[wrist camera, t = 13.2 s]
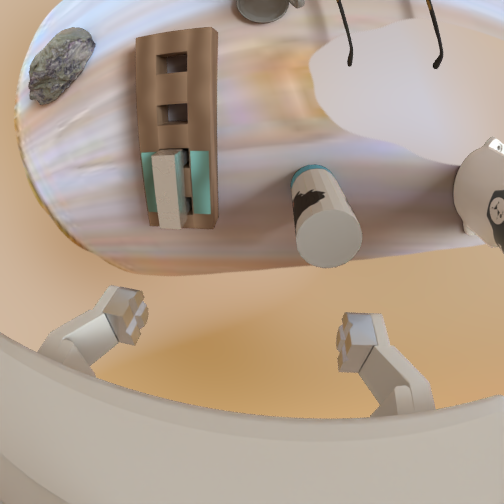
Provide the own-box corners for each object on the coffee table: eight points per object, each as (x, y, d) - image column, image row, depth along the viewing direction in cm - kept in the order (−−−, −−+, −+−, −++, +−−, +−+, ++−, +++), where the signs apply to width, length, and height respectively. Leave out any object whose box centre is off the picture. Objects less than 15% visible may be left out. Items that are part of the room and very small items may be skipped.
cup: (281, 189, 40) (281, 245, 27) (310, 155, 37) (328, 195, 24) (315, 215, 42) (330, 278, 29) (345, 184, 38) (375, 236, 26)
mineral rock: (49, 105, 33) (9, 118, 25) (41, 55, 27) (0, 60, 19) (102, 77, 31) (61, 82, 23) (94, 21, 25) (53, 16, 17)
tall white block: (193, 141, 37) (174, 155, 30) (196, 204, 42) (180, 229, 36) (173, 141, 37) (151, 155, 30) (178, 203, 42) (160, 228, 36)
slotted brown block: (218, 32, 28) (211, 26, 24) (218, 216, 43) (213, 229, 40) (148, 40, 28) (135, 37, 25) (159, 214, 44) (149, 226, 40)
